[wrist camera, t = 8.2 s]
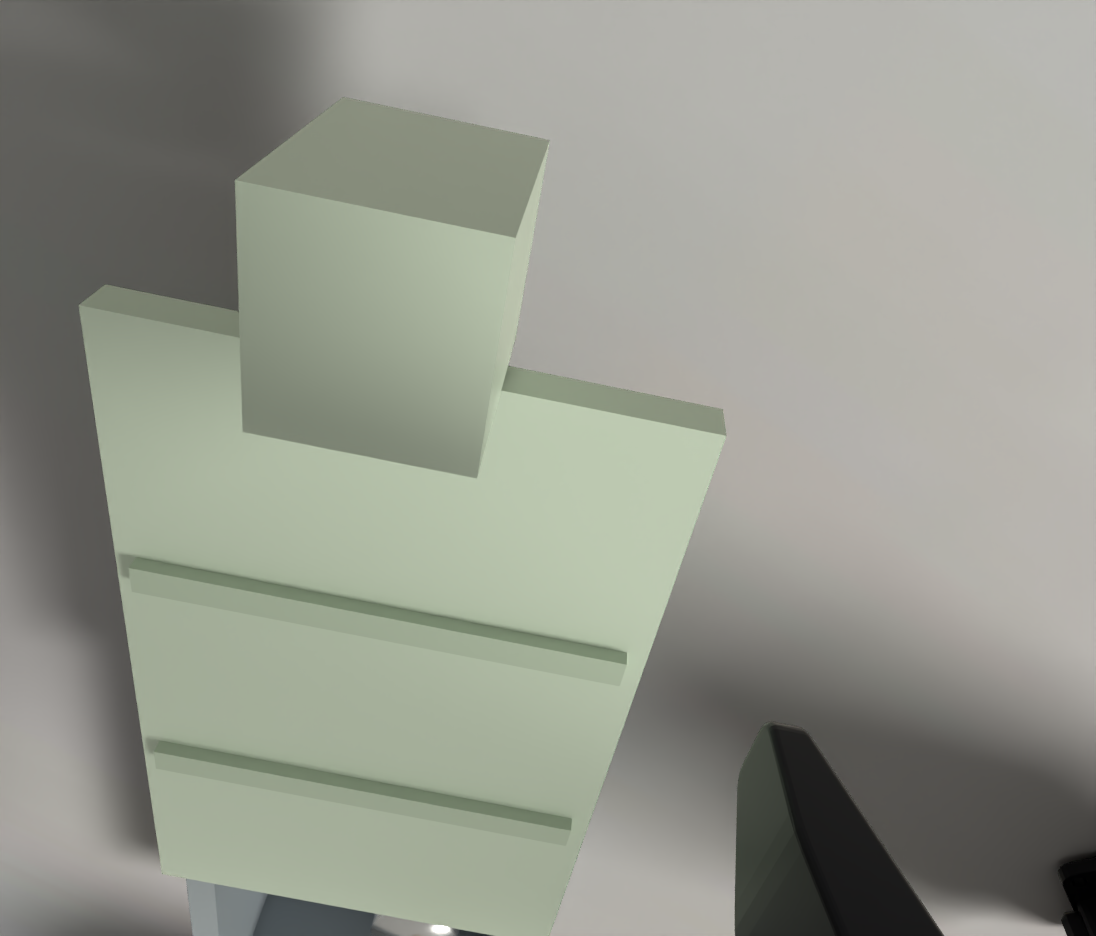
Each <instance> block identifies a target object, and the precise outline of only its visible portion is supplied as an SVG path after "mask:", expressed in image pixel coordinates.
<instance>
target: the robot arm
mask: <svg viewBox="0 0 1096 936" xmlns="http://www.w3.org/2000/svg"><path fill="white" fill-rule="evenodd" d="M1058 875H1059V877H1060V880H1061V882H1062V885H1063V887H1064V889H1065V892H1066V894H1067V896H1068V899H1069V901H1070V903H1071V905H1072V908H1073V910H1074V911H1070V912H1065V913H1064V915H1063V918H1062V920H1061V921H1062V924H1063V926H1064V929H1065V931H1066V934H1067V936H1096V858H1091V859H1086V860H1080V861H1075V862H1070V863H1067V864H1064V865H1063V866H1061V867H1060V868H1059V870H1058ZM735 936H944V935H943V933H942V932H941V930H940V929H939V927H938V926H937V924H936V923H935V921H934V920H933V918H932V917H931V915H930V914H929V912H928V911H927V909H926V908H925V906H924V905H923V903H922V902H921V900H920V899H919V897H918V896H917V894H916V893H915V891H914V890H913V888H912V887H911V885H910V884H909V882H908V881H907V879H906V878H905V876H904V875H903V873H902V872H901V870H900V869H899V868H898V866H897V865H896V863H895V862H894V860H893V859H892V857H891V856H890V854H889V853H888V851H887V850H886V848H885V847H884V845H883V844H882V842H881V841H880V839H879V838H878V836H877V835H876V833H875V832H874V830H873V829H872V827H871V826H870V824H869V823H868V821H867V820H866V818H865V817H864V815H863V814H862V812H861V811H860V809H859V808H858V806H857V805H856V803H855V802H854V800H853V799H852V797H851V796H850V794H849V793H848V791H847V790H846V788H845V787H844V785H843V784H842V782H841V781H840V779H839V778H838V776H837V775H836V773H835V772H834V770H833V769H832V767H831V766H830V764H829V763H828V761H827V760H826V758H825V757H824V755H823V754H822V752H821V751H820V749H819V748H818V746H817V745H816V743H815V742H814V740H813V739H812V737H811V736H810V735H809V733H807V732H806V731H805V730H804V729H802V728H800V727H797V726H792V725H787V724H782V723H777V722H768V723H766V724H764V725H763V727H762V728H761V729H760V731H759V733H758V735H757V737H756V739H755V741H754V743H753V745H752V747H751V749H750V751H749V753H748V755H747V757H746V759H745V761H744V763H743V765H742V767H741V770H740V774H739V779H738V787H737V828H736V874H735Z"/></svg>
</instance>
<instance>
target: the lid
mask: <svg viewBox="0 0 1096 936" xmlns="http://www.w3.org/2000/svg"><path fill="white" fill-rule="evenodd" d="M549 143H550V140H546V139H541V138H537V137H532V136H527V135H522V134H517V133H513V132H508V131H503V130H498V129H494V128H489V127H484V126H479V125H474V124H470V123H465V122H460V121H455V120H451V119H446V118H441V117H436V116H431V115H427V114H422V113H417V112H412V111H408V110H403V109H398V108H393V107H388V106H384V105H379V104H374V103H369V102H364V101H360V100H355V99H350V98H345V97H343V98H341V99H340V100H339V101H338V102H336V103H335V104H334V105H332V106H331V107H330V108H328V109H327V110H326V111H324V112H323V113H322V114H321V115H319V116H318V117H317V118H315V119H314V120H313V121H311V122H310V123H309V124H307V125H306V126H305V127H304V128H302V129H301V130H300V131H298V132H297V133H296V134H294V135H293V136H292V137H290V138H289V139H288V140H287V141H285V142H284V143H283V144H281V145H280V146H279V147H277V148H276V149H275V150H273V151H272V152H271V153H270V154H268V155H267V156H266V157H264V158H263V159H262V160H260V161H259V162H258V163H256V164H255V165H254V166H253V167H251V168H250V169H249V170H247V171H246V172H245V173H243V174H242V175H241V176H239V177H238V178H237V179H236V180H235V203H236V235H237V267H238V299H239V311H235V310H230V309H225V308H220V307H215V306H210V305H205V304H200V303H195V302H190V301H185V300H180V299H175V298H170V297H165V296H160V295H156V294H151V293H146V292H141V291H136V290H131V289H126V288H121V287H116V286H111V285H106V284H105V285H104V286H103V287H101V288H100V289H99V290H97V291H96V292H95V293H94V294H92V295H91V296H90V297H88V298H87V299H86V300H85V301H83V302H82V303H81V304H79V305H78V306H79V313H80V319H81V326H82V333H83V340H84V347H85V353H86V360H87V367H88V374H89V381H90V387H91V394H92V401H93V408H94V415H95V421H96V428H97V435H98V442H99V449H100V456H101V462H102V469H103V476H104V483H105V490H106V496H107V503H108V510H109V517H110V524H111V530H112V537H113V544H114V551H115V558H116V564H117V571H118V578H119V585H120V592H121V598H122V605H123V612H124V619H125V626H126V632H127V639H128V646H129V653H130V660H131V666H132V673H133V680H134V687H135V694H136V700H137V707H138V714H139V721H140V728H141V734H142V741H143V748H144V755H145V762H146V769H147V775H148V782H149V789H150V796H151V803H152V809H153V816H154V823H155V830H156V837H157V843H158V850H159V857H160V864H161V871H162V874H165V875H170V876H175V877H181V878H186V879H191V880H197V881H202V882H208V883H213V884H218V885H224V886H229V887H235V888H240V889H245V890H251V891H256V892H261V893H267V894H272V895H278V896H283V897H288V898H294V899H299V900H304V901H310V902H315V903H321V904H326V905H331V906H337V907H342V908H348V909H353V910H358V911H364V912H369V913H374V914H380V915H385V916H391V917H396V918H401V919H407V920H412V921H417V922H423V923H428V924H434V925H439V926H444V927H450V928H455V929H460V930H466V931H471V932H477V933H482V934H487V935H493V936H549V935H550V932H551V930H552V927H553V924H554V921H555V918H556V916H557V913H558V910H559V907H560V904H561V901H562V899H563V896H564V893H565V890H566V887H567V884H568V882H569V879H570V876H571V873H572V870H573V868H574V865H575V862H576V859H577V856H578V853H579V851H580V848H581V845H582V842H583V839H584V837H585V834H586V831H587V828H588V825H589V822H590V820H591V817H592V814H593V811H594V808H595V805H596V803H597V800H598V797H599V794H600V791H601V789H602V786H603V783H604V780H605V777H606V774H607V772H608V769H609V766H610V763H611V760H612V758H613V755H614V752H615V749H616V746H617V743H618V741H619V738H620V735H621V732H622V729H623V726H624V724H625V721H626V718H627V715H628V712H629V710H630V707H631V704H632V701H633V698H634V695H635V693H636V690H637V687H638V684H639V681H640V679H641V676H642V673H643V670H644V667H645V664H646V662H647V659H648V656H649V653H650V650H651V647H652V645H653V642H654V639H655V636H656V633H657V631H658V628H659V625H660V622H661V619H662V616H663V614H664V611H665V608H666V605H667V602H668V600H669V597H670V594H671V591H672V588H673V585H674V583H675V580H676V577H677V574H678V571H679V568H680V566H681V563H682V560H683V557H684V554H685V552H686V549H687V546H688V543H689V540H690V537H691V535H692V532H693V529H694V526H695V523H696V521H697V518H698V515H699V512H700V509H701V506H702V504H703V501H704V498H705V495H706V492H707V489H708V487H709V484H710V481H711V478H712V475H713V473H714V470H715V467H716V464H717V461H718V458H719V456H720V453H721V450H722V447H723V444H724V442H725V439H726V429H725V422H724V415H723V409H719V408H714V407H709V406H704V405H699V404H694V403H689V402H684V401H679V400H674V399H669V398H664V397H660V396H655V395H650V394H645V393H640V392H635V391H630V390H625V389H620V388H615V387H610V386H605V385H600V384H595V383H590V382H585V381H580V380H576V379H571V378H566V377H561V376H556V375H551V374H546V373H541V372H536V371H531V370H526V369H521V368H516V367H511V366H508V364H509V361H510V357H511V353H512V350H513V346H514V343H515V339H516V334H517V328H518V322H519V316H520V310H521V305H522V299H523V293H524V287H525V281H526V276H527V270H528V264H529V258H530V253H531V247H532V241H533V235H534V229H535V224H536V218H537V212H538V206H539V201H540V195H541V189H542V183H543V177H544V172H545V166H546V160H547V154H548V148H549Z"/></svg>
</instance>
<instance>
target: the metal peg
mask: <svg viewBox="0 0 1096 936" xmlns="http://www.w3.org/2000/svg"><path fill="white" fill-rule="evenodd" d="M459 930H460V929H455V928H450V927H444V926H439V925H434V924H428V923H423V922H417V921H412V920H407V919H401V918H396V917H391V916H385V915H380V914H375V915H374V919H373V923H372V926H371V936H459Z"/></svg>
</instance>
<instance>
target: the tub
mask: <svg viewBox="0 0 1096 936" xmlns="http://www.w3.org/2000/svg"><path fill="white" fill-rule="evenodd" d="M186 883H187V891H188V900H189V908H190V917H191V925H192V934H193V936H371V926H372V923H373V919H374V915H375V914H374V913H369V912H364V911H358V910H353V909H348V908H342V907H337V906H331V905H326V904H321V903H315V902H310V901H304V900H299V899H294V898H288V897H283V896H278V895H272V894H267V893H261V892H256V891H251V890H245V889H240V888H235V887H229V886H224V885H218V884H213V883H208V882H202V881H197V880H191V879H186ZM459 936H493V935H487V934H482V933H477V932H471V931H466V930H459Z"/></svg>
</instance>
